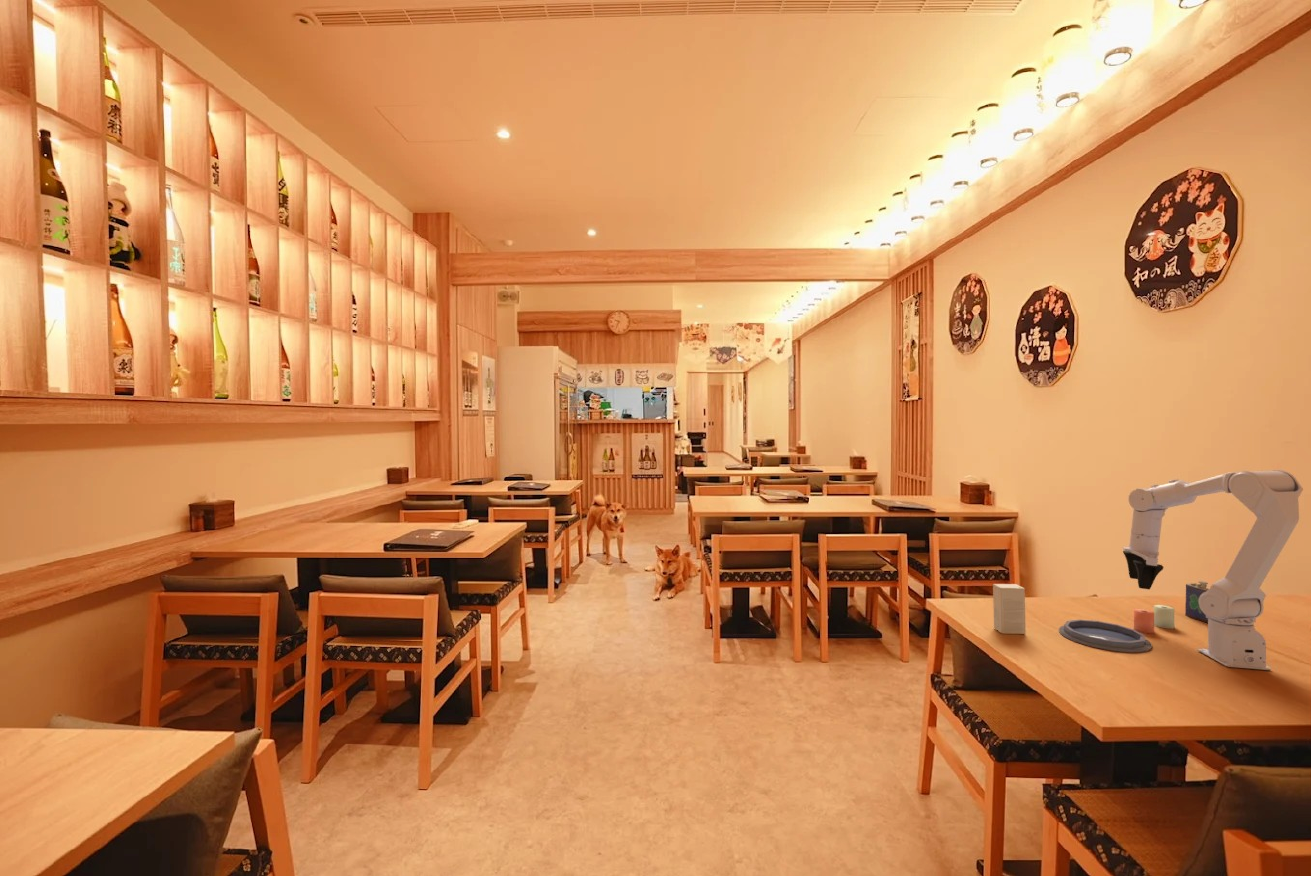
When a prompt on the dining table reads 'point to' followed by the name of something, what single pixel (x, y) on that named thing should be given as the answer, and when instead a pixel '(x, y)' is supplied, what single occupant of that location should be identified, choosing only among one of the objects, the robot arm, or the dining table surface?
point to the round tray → (1105, 636)
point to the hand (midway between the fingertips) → (1139, 583)
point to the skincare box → (1009, 608)
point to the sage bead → (1164, 616)
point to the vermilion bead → (1143, 621)
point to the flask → (1195, 600)
